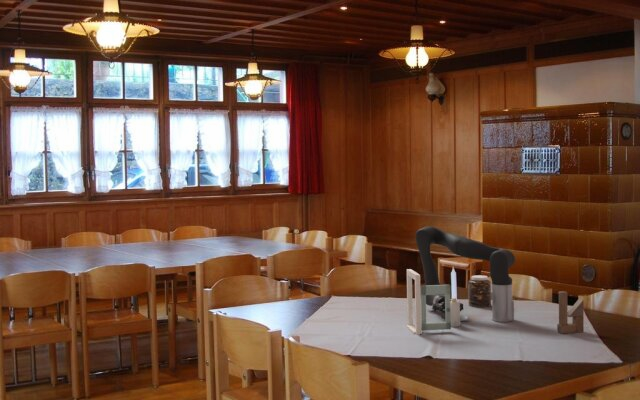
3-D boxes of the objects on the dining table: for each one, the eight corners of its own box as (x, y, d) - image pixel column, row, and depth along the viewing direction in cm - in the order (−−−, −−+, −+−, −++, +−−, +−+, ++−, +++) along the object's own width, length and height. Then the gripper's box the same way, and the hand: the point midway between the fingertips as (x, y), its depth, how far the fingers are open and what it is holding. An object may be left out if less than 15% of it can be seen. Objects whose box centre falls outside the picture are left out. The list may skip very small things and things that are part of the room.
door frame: (414, 325, 362) (412, 268, 360) (423, 334, 344) (422, 274, 342) (405, 326, 361) (404, 269, 360) (414, 334, 344) (413, 275, 342)
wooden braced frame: (583, 332, 340) (583, 291, 339) (561, 334, 338) (561, 292, 337) (579, 330, 344) (579, 289, 343) (557, 332, 342) (556, 291, 341)
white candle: (458, 324, 363) (457, 296, 362) (461, 326, 358) (461, 298, 357) (447, 324, 362) (446, 297, 361) (450, 327, 357) (450, 299, 356)
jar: (494, 304, 407) (494, 275, 406) (486, 308, 397) (486, 279, 396) (473, 302, 413) (472, 274, 413) (464, 306, 404) (464, 277, 403)
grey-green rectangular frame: (422, 331, 344) (422, 286, 343) (421, 330, 347) (420, 285, 346) (451, 329, 346) (450, 285, 345) (449, 328, 349) (449, 284, 347)
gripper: (427, 296, 379) (436, 302, 363) (456, 294, 380) (466, 300, 364) (428, 311, 379) (436, 318, 363) (456, 310, 381) (466, 316, 365)
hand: (451, 309), depth 364 cm, fingers open, 8 cm apart
